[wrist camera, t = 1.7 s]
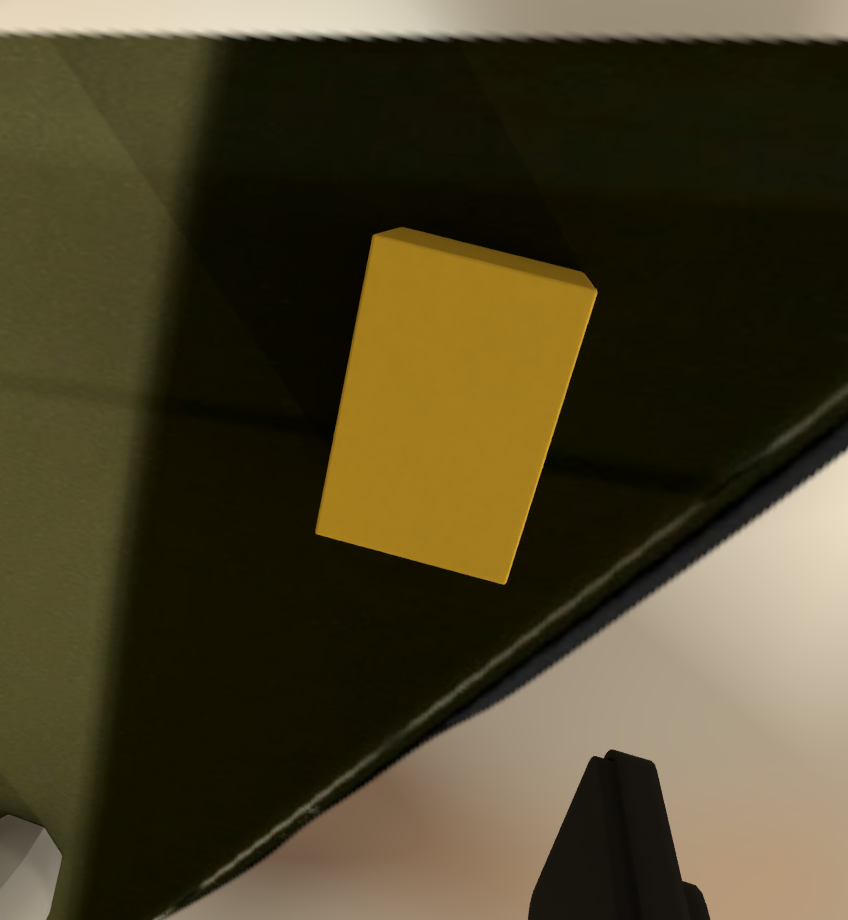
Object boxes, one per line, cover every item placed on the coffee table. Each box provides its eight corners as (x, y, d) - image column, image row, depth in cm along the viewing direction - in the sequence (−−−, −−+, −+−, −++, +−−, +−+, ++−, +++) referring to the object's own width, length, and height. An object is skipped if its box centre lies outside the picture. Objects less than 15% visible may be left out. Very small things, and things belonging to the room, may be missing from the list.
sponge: (400, 226, 23) (372, 233, 19) (584, 272, 23) (598, 290, 18) (347, 480, 26) (313, 534, 22) (508, 522, 26) (505, 586, 22)
